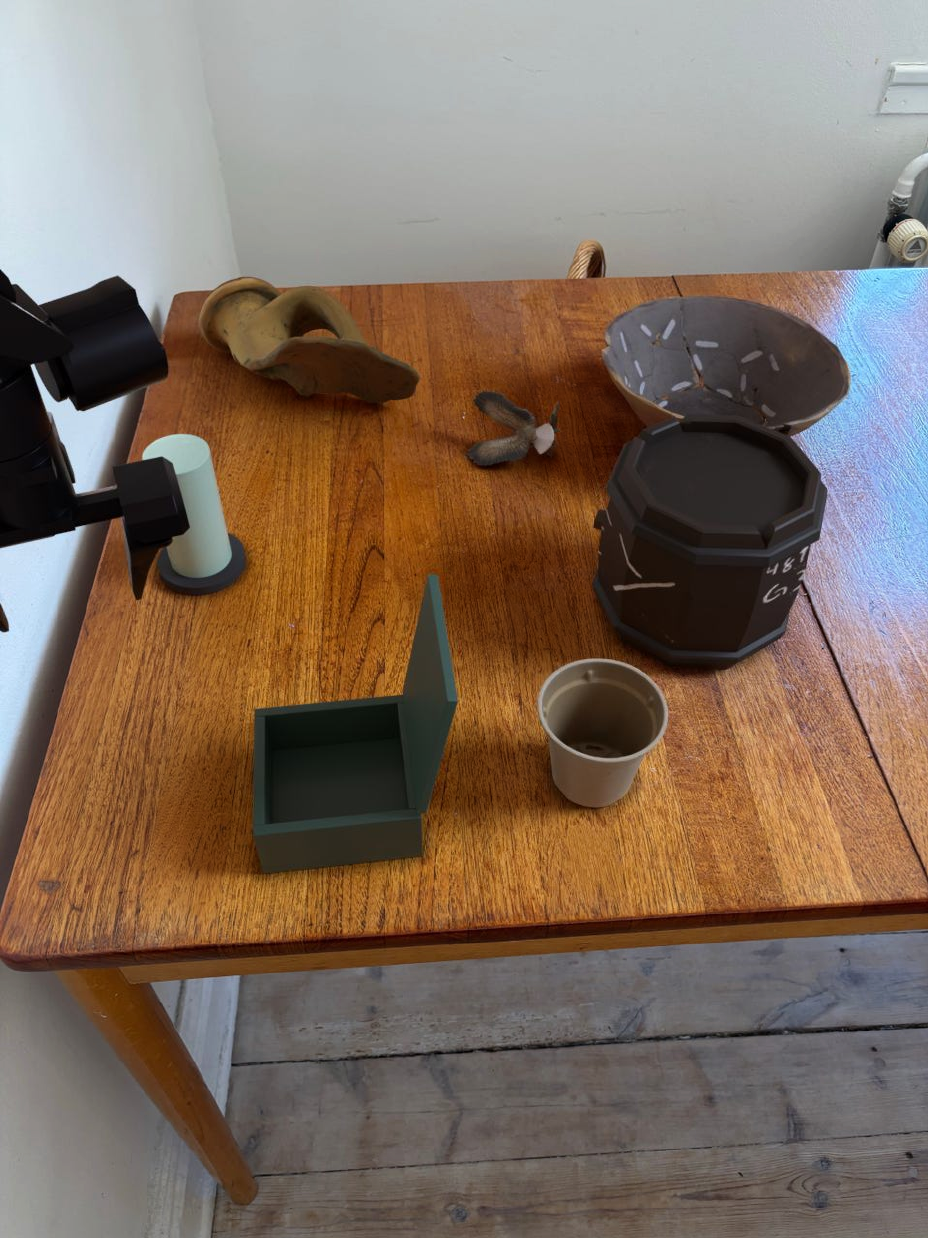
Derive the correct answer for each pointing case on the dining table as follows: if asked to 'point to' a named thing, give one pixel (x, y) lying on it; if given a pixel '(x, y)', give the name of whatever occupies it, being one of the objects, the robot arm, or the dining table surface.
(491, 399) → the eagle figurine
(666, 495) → the black polygonal canister
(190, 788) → the dining table surface
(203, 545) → the pale green cylinder
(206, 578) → the rubber mat
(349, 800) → the box
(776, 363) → the bowl
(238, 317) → the brown looped sculpture
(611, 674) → the flower pot
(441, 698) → the box lid
